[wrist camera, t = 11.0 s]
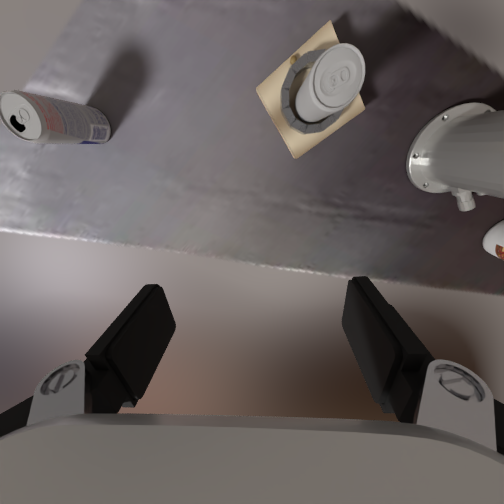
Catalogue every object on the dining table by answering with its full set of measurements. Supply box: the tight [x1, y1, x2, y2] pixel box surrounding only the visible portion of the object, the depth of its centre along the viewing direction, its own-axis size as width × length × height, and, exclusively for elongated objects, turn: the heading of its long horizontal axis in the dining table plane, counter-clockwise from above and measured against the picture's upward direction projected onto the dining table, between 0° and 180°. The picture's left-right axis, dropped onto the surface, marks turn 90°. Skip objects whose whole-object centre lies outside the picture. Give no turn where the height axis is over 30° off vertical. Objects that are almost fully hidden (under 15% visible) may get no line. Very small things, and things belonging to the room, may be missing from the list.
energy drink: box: [0, 90, 111, 144], centre depth 29 cm, size 5×5×12 cm
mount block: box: [256, 20, 365, 159], centre depth 29 cm, size 11×11×4 cm
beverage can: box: [295, 43, 365, 123], centre depth 23 cm, size 5×5×12 cm
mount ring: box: [280, 49, 344, 134], centre depth 27 cm, size 8×8×2 cm
